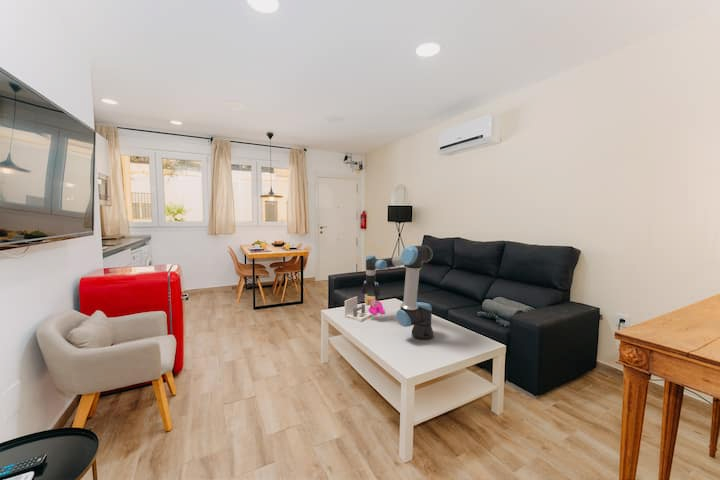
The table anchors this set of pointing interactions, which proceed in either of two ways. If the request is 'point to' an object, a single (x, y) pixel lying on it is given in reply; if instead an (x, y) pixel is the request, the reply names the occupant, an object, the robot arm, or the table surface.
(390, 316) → the table surface
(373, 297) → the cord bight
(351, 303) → the shelf
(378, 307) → the magenta lumpy block
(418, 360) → the table surface
